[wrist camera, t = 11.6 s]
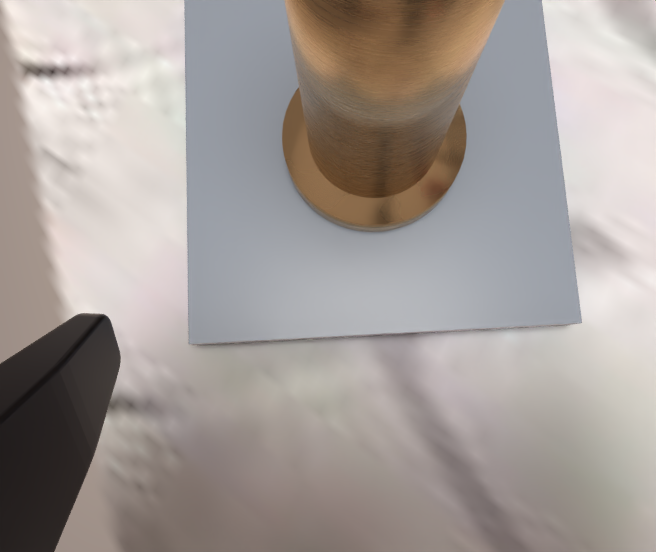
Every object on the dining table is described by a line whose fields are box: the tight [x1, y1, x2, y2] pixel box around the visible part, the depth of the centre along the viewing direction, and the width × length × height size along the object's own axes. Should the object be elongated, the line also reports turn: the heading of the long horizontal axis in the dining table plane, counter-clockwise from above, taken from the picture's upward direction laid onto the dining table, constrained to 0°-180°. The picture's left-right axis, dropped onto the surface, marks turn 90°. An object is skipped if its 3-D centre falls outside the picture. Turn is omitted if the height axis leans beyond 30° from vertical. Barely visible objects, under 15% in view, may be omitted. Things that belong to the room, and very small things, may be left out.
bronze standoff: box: [282, 0, 505, 232], centre depth 11 cm, size 6×6×13 cm
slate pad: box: [184, 0, 582, 345], centre depth 18 cm, size 12×12×1 cm
